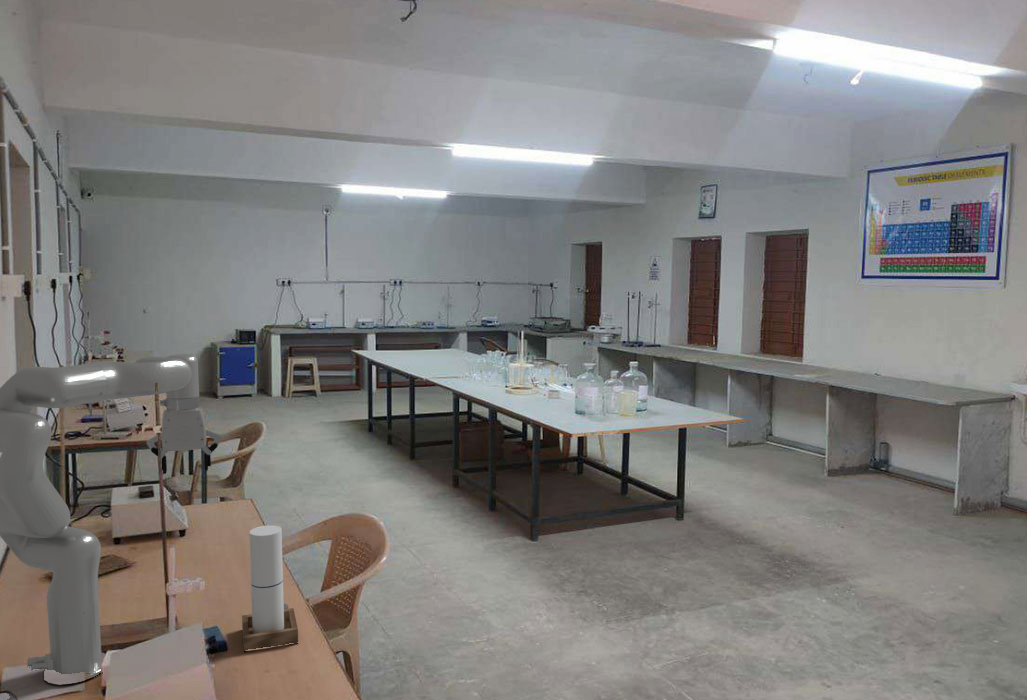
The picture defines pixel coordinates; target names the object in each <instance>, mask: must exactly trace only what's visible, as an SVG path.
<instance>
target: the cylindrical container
mask: <svg viewBox="0 0 1027 700" xmlns="http://www.w3.org/2000/svg"><path fill="white" fill-rule="evenodd" d="M282 533H283V532H282V527H281V526H278V525H273V524H272V525H261V526H256V527H254V528H252V529H251V530H249V555H250V558H249V559H250V587H251V588H250V589H251V591H250V592H251V614H252V626H253V634H256V633H262V632H269V631H275V630H281V629H284V604H285V603H284V568H283V567H284V565H283V534H282Z"/></svg>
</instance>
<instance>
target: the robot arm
mask: <svg viewBox="0 0 1027 700" xmlns="http://www.w3.org/2000/svg"><path fill="white" fill-rule="evenodd" d="M156 382H158V384H159V390H158V392H157V390H156V392H155V383H156ZM199 385H200V383H199V361H198V357H197V356H196V354H195V355H194V354H191V353H175V354H171V355H168V356H144V357H141V358H139V359H137V360H135V361H134V362H131V361H130V362H127V361H98V362H91V363H89V362H88V363H84V364H76V365H74V364H73V365H65V366H59V367H49V366H48V367H46V366H34V365H33V366H25V367H23V368H22V369H19V370H18V371H17V372H15V373H14V374H13V375H11V377H9V378H8V379H7V380H6V381H5V382H4V383H3V384H2V386H1V387H0V453H1V455H0V538H1V540H3V542H4V543H5V544H6V546H7V547H8V548H9V549H10V551H12V553H13V554H14V556H15V557H16V558H17V559H18V560H19V561H20V562H22V563H23V564H24V565H26V566H27V567H29V568H33V569H39V570H42V571H47V572H51V573H52V578H51V582H50V583H49V587H48V588H47V589H48V590H47V593H46V607H47V620H48V639H49V653H45V654H44V655H41V656H33V657H29V658H27V663H26V664H27V665H26V666H27V667H28V666H31V667H30V669H31V671H32V670H33V669H40V670H44V669H47V670H55V671H56V672H59V673H61V674H72V673H74V674H75V673H80V672H86V674H89V675H86V676H85V677H90V676H94V675H96V674H99V673H100V671H101V663H102V661H103V658H104V656H105V654H106V653H105V652H102V641H101V625H100V623H101V622H100V621H101V620H100V605H99V589H98V588H99V586H98V584H99V582H98V581H99V580H98V579H99V567H100V561H101V557H102V556H101V555H102V545H101V542H100V540H99V538H98V537H97V536H96V535H95V534H93V533H92V532H90V531H89V530H85V529H82V528H78V527H72V526H69V525H70V522H71V512H70V509H69V507H68V504H67V503H66V502H65V500H64V499H63V498H62V496H61V495H60V493H59V492H58V490H57V488H55V486H54V485H53V483H52V482H51V481H50V479H49V477H48V475H47V474H46V472H45V469H44V460H45V459H44V458H45V455H46V452H47V450H48V447H49V445H50V442H51V439H52V429H51V425H50V423H49V421H48V420H47V419H46V418H45V417H43V416H41V415H39V414H37V413H35V412H32V410H34V408H45V409H63V408H70V407H75V406H81V405H86V404H91V403H96V402H102V401H109V400H118V399H119V400H121V399H128V398H135V397H144V396H154V395H160V394H161V395H162V394H165V396H166V398H165V399H162V400H160V401H159V404H160V405H159V406H161V407H162V406H163V407H164V408H166V409H164V410H163V412H162V419H161V439H160V440H161V447H162V449H160V450H161V454H162V470H161V471H162V475H166V474H167V471H168V469H167V463H168V462H167V456H166V454H167V453H168V452H176V451H177V452H178V451H193V450H200V449H201V450H202V451H203V452H204V453H203V454H204V455H203V458H204V459H203V460H204V462H203V463H204V471H208V470H209V467H212V463H211V462H212V459H211V458H212V457H211V454H212V453H213V452H214V451H215V450H216V449H217V448H218V446H219V444H220V443H221V441H222V439H223V438H222V435H220V434H219V433H216V432H213V431H211V430H209V429H207V425H206V417H205V412H204V409H203V407H201V406H200V386H199ZM207 437H209V438H211V439H214V441H213V443H212V444H211V445H210V446H209V444H207ZM156 442H159V441H158V434H157V435H154V436H153V437H151V438H149V439H147V440H146V443H145V444H146V445H147V447H148V448H149V449H150V451H151V453H152V454H154V455H155V456H156V457H158V449H159V448H158V447H157V446H156V444H155V443H156Z"/></svg>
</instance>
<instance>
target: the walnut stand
mask: <svg viewBox="0 0 1027 700" xmlns="http://www.w3.org/2000/svg"><path fill="white" fill-rule="evenodd" d="M241 620H242V622H241V625H242V626H241V628H242V629H243V630H242V642H243V643H242V645H243V646H242V647H244V648H243V651H244V650H248V649H256V648H263V647H271V646H278V645H285V644H289V643H297V642H298V643H299V628H298V624H297V619H296V614H295V609H294V608H293V607H292V608H290V607H289V608H288V609H284V629H281V630H275V631H269V632H262V633H256V634H253V626H252V613H249V614H243V615H241Z"/></svg>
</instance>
